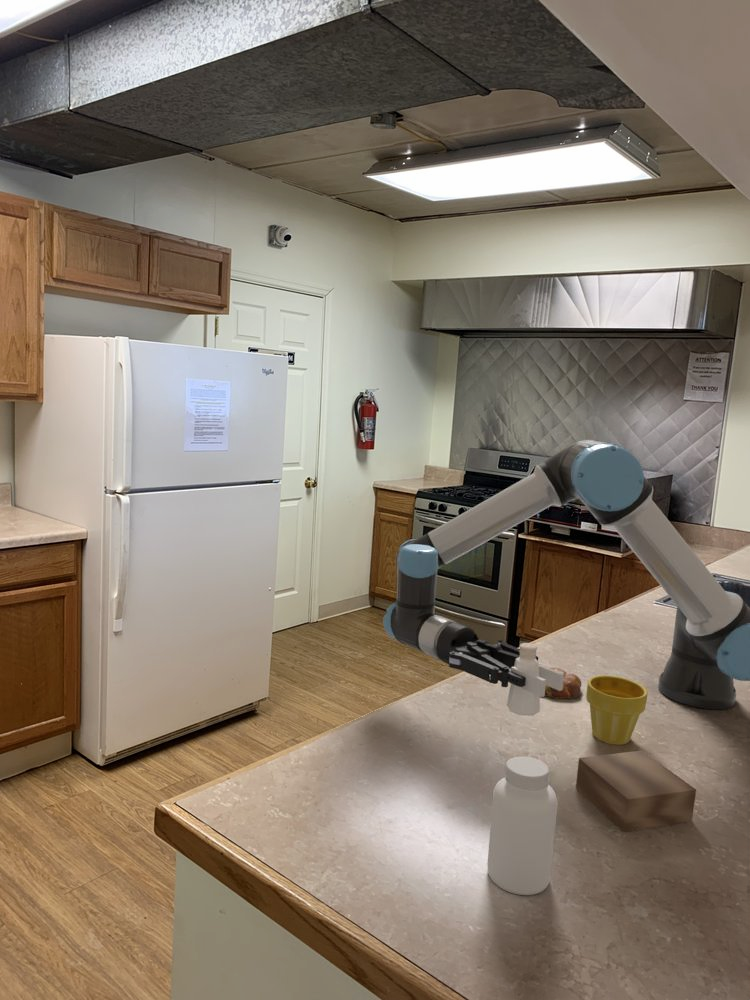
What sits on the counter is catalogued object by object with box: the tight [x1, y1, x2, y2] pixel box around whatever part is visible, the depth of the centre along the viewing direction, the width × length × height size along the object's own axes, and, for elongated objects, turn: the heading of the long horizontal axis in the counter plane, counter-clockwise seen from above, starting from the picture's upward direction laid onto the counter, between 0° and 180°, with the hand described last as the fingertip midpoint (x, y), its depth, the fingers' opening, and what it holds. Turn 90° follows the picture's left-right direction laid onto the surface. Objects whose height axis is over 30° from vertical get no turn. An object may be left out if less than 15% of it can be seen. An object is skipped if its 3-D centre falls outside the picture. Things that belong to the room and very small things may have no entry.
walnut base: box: [575, 750, 697, 833], centre depth 112 cm, size 12×12×5 cm
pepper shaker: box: [506, 642, 541, 717], centre depth 120 cm, size 5×5×11 cm
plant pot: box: [585, 674, 648, 746], centre depth 133 cm, size 10×10×10 cm
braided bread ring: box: [544, 666, 582, 699], centre depth 155 cm, size 12×11×4 cm
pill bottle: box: [487, 756, 559, 896], centre depth 92 cm, size 8×8×15 cm
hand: (552, 685), depth 116 cm, fingers closed on pepper shaker, 4 cm apart
